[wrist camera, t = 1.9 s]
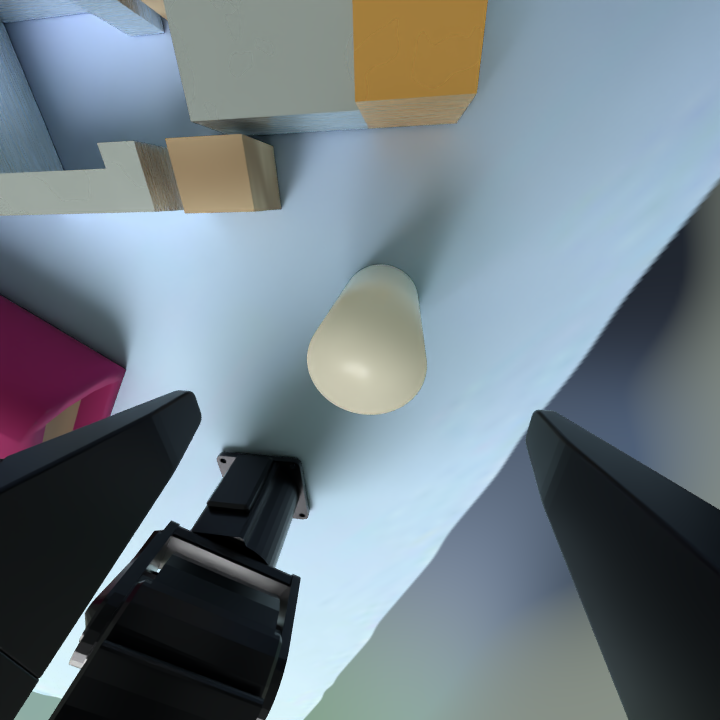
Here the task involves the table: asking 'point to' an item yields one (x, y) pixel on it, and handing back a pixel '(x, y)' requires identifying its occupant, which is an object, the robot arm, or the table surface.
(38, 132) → the socket
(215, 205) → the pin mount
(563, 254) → the table surface
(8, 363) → the book
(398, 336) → the cream tapered cylinder
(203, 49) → the pin
